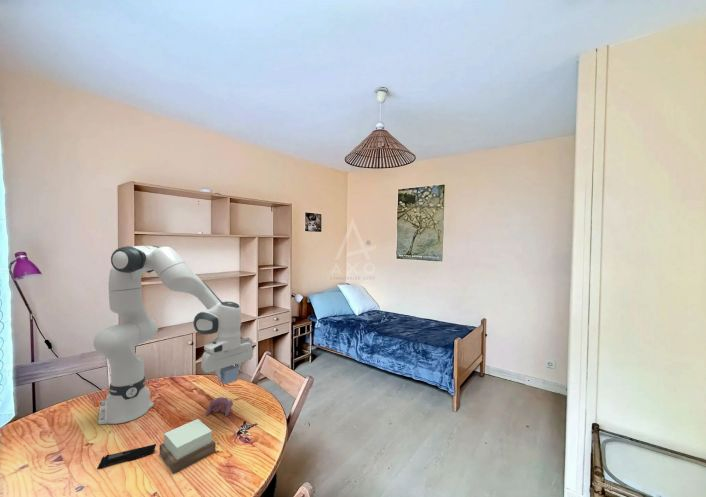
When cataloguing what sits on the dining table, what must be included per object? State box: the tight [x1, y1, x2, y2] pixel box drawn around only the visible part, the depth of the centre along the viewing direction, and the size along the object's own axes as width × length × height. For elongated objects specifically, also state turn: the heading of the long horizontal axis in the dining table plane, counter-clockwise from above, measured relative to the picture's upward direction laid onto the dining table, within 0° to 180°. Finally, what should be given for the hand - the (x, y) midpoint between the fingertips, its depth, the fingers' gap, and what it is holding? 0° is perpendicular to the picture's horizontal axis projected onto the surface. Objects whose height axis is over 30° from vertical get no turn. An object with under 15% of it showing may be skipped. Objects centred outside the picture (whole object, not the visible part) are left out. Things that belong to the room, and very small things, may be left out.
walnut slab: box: [159, 439, 216, 475], centre depth 100 cm, size 13×13×4 cm
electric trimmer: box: [96, 443, 157, 470], centre depth 97 cm, size 4×16×3 cm, turn 117°
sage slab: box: [163, 418, 213, 460], centre depth 100 cm, size 11×11×4 cm
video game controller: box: [205, 397, 234, 418], centre depth 124 cm, size 10×5×7 cm, turn 85°
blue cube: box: [218, 365, 238, 385], centre depth 118 cm, size 5×5×5 cm
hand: (228, 376), depth 118 cm, fingers closed on blue cube, 5 cm apart
